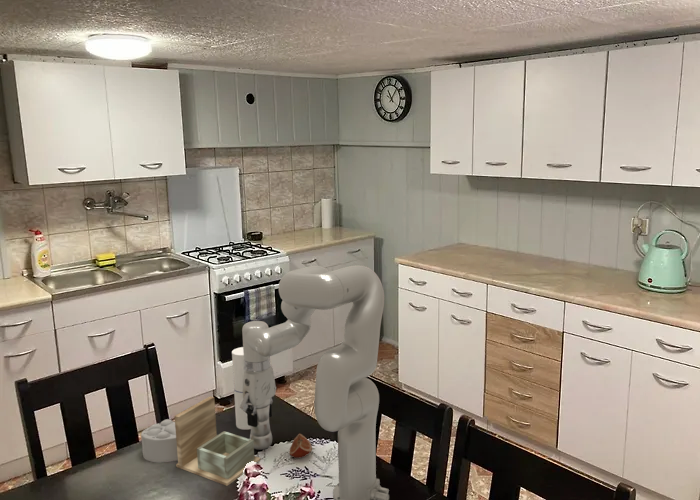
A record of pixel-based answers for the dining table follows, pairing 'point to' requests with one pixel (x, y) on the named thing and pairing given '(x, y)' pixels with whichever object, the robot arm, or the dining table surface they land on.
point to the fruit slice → (300, 447)
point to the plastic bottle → (261, 427)
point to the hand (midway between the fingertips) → (260, 420)
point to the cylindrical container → (239, 387)
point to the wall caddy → (210, 445)
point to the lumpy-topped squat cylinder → (160, 442)
